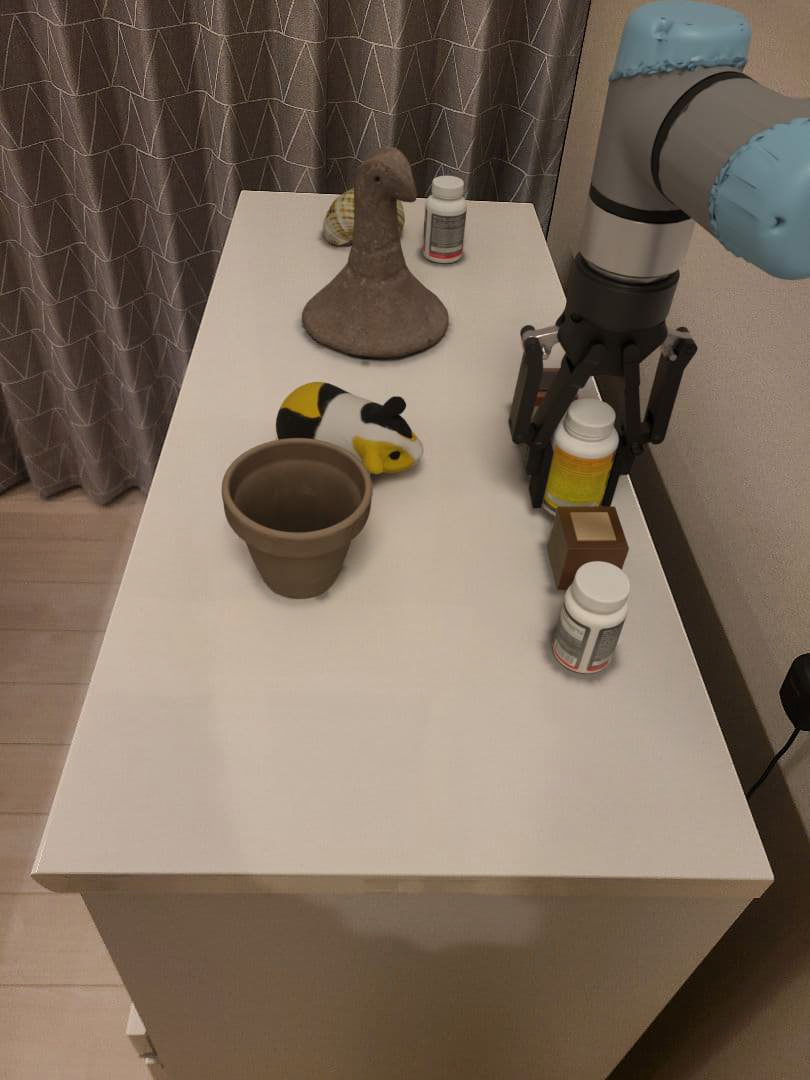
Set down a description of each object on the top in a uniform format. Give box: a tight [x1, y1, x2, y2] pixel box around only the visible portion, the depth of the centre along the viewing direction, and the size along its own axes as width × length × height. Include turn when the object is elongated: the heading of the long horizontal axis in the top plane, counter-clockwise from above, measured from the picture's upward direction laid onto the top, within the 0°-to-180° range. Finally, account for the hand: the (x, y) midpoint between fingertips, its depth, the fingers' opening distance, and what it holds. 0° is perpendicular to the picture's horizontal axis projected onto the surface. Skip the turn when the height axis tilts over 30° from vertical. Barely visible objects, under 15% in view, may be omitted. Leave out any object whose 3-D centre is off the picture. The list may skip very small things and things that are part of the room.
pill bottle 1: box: [422, 175, 468, 264], centre depth 108 cm, size 5×5×10 cm
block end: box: [535, 367, 579, 406], centre depth 85 cm, size 5×5×5 cm
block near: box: [547, 505, 630, 591], centre depth 70 cm, size 5×5×5 cm
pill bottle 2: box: [551, 561, 632, 674], centre depth 63 cm, size 5×5×8 cm
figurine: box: [275, 381, 424, 475], centre depth 78 cm, size 8×15×8 cm, turn 64°
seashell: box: [322, 187, 406, 246], centre depth 112 cm, size 10×10×10 cm
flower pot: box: [221, 438, 374, 599], centre depth 67 cm, size 12×11×10 cm
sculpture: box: [301, 145, 449, 359], centre depth 92 cm, size 17×17×20 cm
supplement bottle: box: [542, 397, 619, 517], centre depth 72 cm, size 6×6×10 cm
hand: (568, 498), depth 76 cm, fingers closed on supplement bottle, 6 cm apart
